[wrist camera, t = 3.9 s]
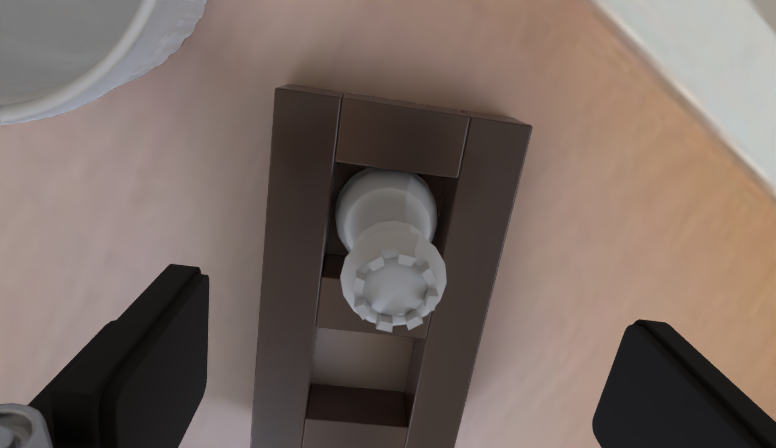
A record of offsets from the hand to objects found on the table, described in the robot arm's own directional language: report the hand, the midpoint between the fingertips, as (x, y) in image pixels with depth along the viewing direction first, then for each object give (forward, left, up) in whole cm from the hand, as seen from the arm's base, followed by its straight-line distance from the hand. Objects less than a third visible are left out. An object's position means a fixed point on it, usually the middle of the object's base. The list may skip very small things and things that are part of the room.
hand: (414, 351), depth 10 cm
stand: (0, -4, -11) cm, 12 cm away
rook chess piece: (0, 0, -12) cm, 12 cm away
